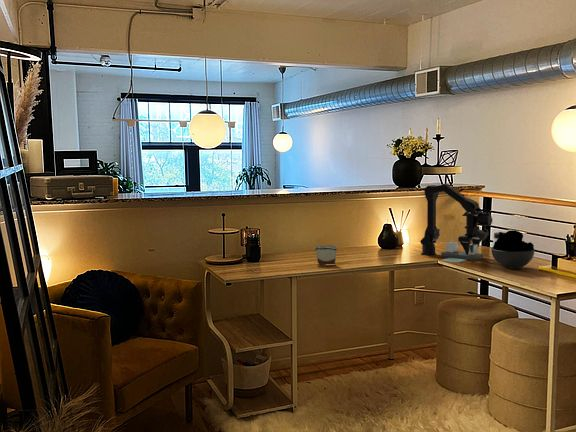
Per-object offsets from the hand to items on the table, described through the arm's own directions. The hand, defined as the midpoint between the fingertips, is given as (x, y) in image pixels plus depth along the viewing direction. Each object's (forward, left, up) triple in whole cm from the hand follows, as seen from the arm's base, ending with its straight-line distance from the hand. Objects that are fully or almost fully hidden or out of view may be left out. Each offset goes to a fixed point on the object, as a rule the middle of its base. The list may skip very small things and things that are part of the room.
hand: (471, 253), depth 307 cm
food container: (-52, -59, -4) cm, 79 cm away
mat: (-5, -10, -3) cm, 12 cm away
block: (-12, 0, -3) cm, 12 cm away
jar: (+6, +22, -4) cm, 23 cm away
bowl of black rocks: (+28, -11, -4) cm, 30 cm away
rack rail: (-6, 0, -3) cm, 7 cm away
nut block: (0, 0, -3) cm, 3 cm away
